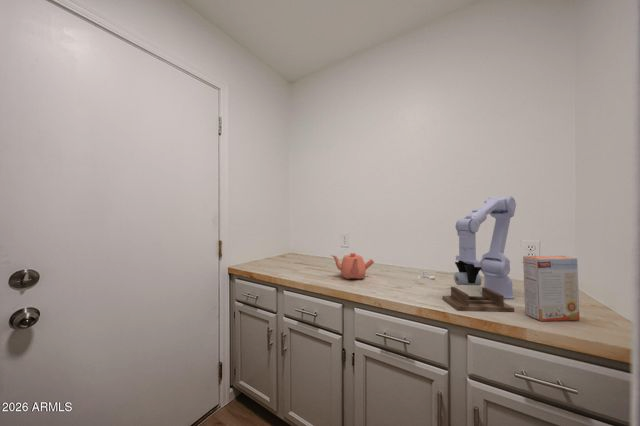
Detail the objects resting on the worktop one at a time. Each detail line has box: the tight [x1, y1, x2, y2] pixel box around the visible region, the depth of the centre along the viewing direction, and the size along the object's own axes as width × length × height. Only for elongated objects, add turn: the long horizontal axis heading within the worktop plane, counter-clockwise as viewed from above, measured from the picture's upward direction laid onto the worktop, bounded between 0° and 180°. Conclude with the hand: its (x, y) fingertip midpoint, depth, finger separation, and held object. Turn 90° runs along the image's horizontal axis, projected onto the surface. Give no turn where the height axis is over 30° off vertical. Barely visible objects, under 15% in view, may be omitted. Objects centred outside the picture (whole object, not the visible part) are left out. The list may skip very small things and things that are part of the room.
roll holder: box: [441, 286, 515, 313], centre depth 90 cm, size 20×12×6 cm, turn 86°
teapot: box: [330, 252, 375, 280], centre depth 133 cm, size 18×18×14 cm
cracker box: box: [522, 255, 581, 322], centre depth 79 cm, size 14×6×21 cm, turn 92°
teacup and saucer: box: [417, 270, 436, 280], centre depth 131 cm, size 9×8×4 cm
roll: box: [453, 271, 482, 286], centre depth 94 cm, size 8×5×5 cm, turn 85°
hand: (467, 281), depth 94 cm, fingers closed on roll, 5 cm apart
